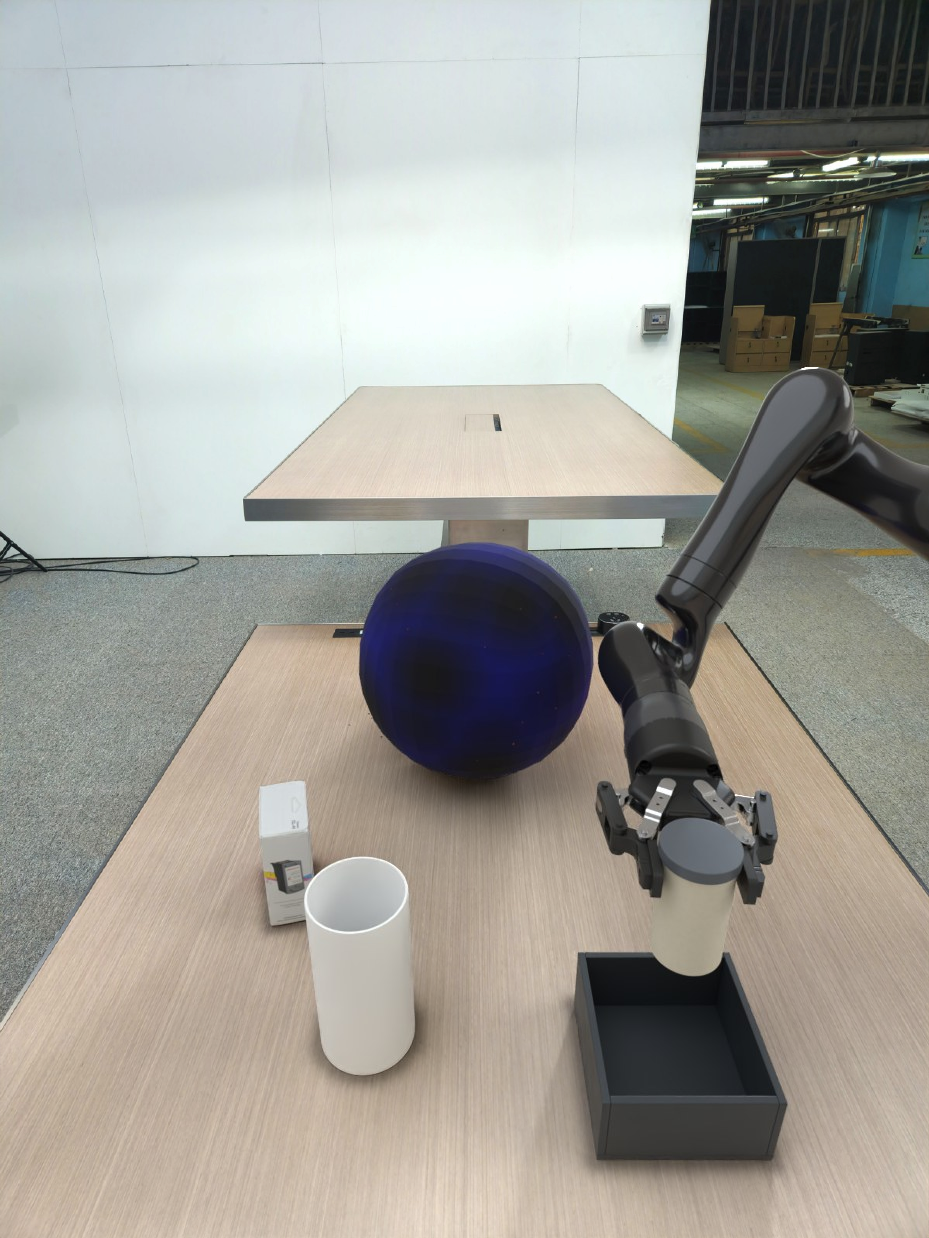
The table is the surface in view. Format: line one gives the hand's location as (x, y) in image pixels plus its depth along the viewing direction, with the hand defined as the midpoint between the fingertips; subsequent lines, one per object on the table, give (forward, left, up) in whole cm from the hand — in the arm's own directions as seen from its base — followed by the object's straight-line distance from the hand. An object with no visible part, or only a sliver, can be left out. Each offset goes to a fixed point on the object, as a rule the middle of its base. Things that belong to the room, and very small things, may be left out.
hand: (704, 891), depth 52 cm
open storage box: (0, -2, -22) cm, 22 cm away
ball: (+17, -49, -22) cm, 56 cm away
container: (0, -2, -8) cm, 8 cm away
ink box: (+35, -22, -22) cm, 47 cm away
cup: (+25, -6, -22) cm, 34 cm away
